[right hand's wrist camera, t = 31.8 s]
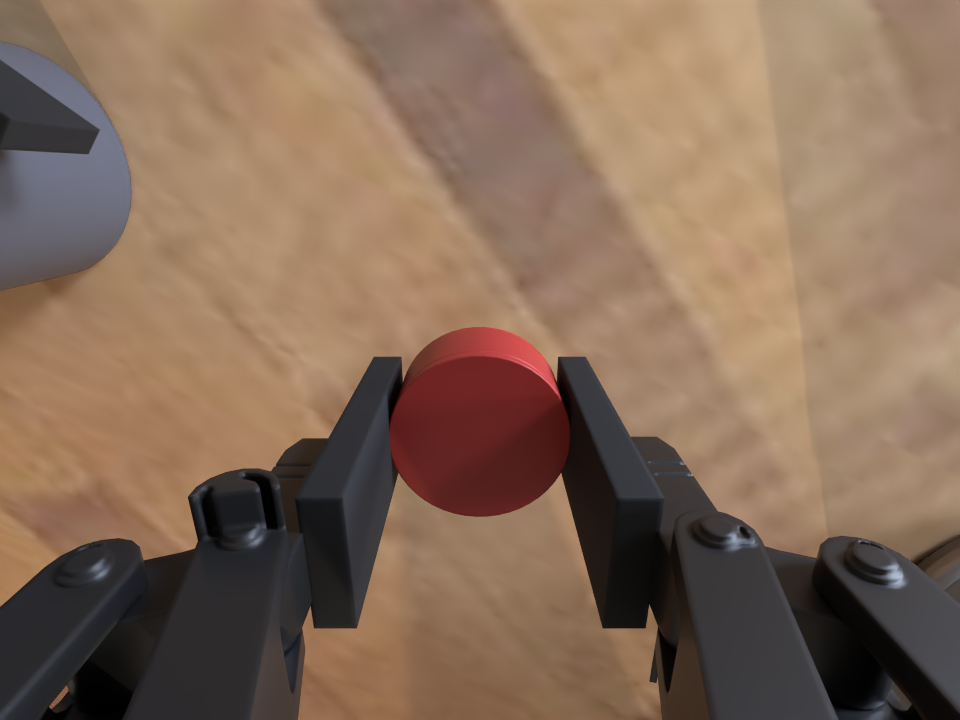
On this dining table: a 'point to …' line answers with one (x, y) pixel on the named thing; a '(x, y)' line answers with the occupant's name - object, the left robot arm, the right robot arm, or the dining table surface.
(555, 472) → the cap
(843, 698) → the right robot arm
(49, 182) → the bottle
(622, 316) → the dining table surface
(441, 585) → the dining table surface
